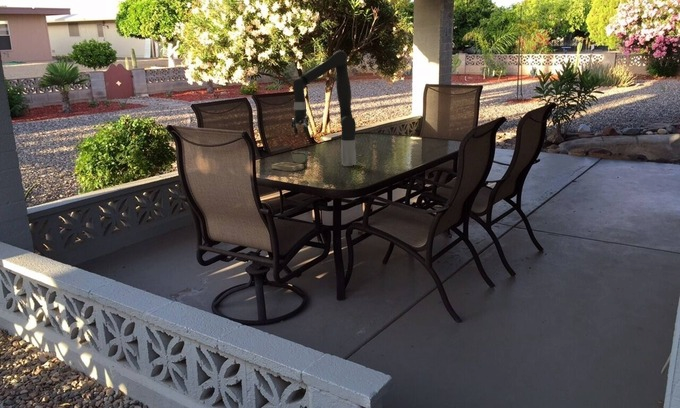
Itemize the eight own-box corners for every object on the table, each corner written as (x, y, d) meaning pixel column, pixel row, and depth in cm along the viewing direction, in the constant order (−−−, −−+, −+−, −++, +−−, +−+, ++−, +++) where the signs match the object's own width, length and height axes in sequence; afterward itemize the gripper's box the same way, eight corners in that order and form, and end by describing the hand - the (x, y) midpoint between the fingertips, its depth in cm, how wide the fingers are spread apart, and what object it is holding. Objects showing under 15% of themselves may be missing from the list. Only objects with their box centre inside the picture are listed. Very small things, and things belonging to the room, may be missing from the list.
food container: (311, 165, 398) (311, 151, 396) (306, 167, 393) (306, 152, 390) (296, 164, 404) (296, 150, 402) (291, 166, 399) (291, 151, 397)
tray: (284, 166, 398) (284, 161, 398) (303, 168, 387) (303, 164, 387) (271, 168, 389) (271, 164, 389) (291, 171, 378) (291, 167, 378)
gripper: (302, 107, 397) (303, 131, 401) (288, 109, 386) (289, 134, 390) (311, 108, 392) (311, 132, 396) (296, 109, 382) (297, 134, 385)
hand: (300, 133), depth 393 cm, fingers open, 8 cm apart
